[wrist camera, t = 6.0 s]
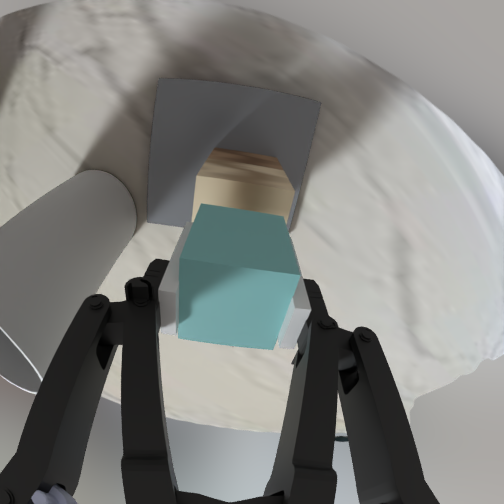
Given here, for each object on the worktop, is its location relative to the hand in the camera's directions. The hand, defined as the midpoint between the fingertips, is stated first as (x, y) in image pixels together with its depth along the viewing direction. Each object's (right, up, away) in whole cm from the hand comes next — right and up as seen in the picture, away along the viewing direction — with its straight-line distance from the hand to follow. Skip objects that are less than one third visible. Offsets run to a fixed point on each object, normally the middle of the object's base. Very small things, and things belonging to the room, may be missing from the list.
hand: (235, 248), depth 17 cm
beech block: (0, +5, +8) cm, 9 cm away
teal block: (0, 0, 0) cm, 0 cm away
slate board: (-2, +11, +13) cm, 17 cm away
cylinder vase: (-20, +6, +16) cm, 27 cm away
